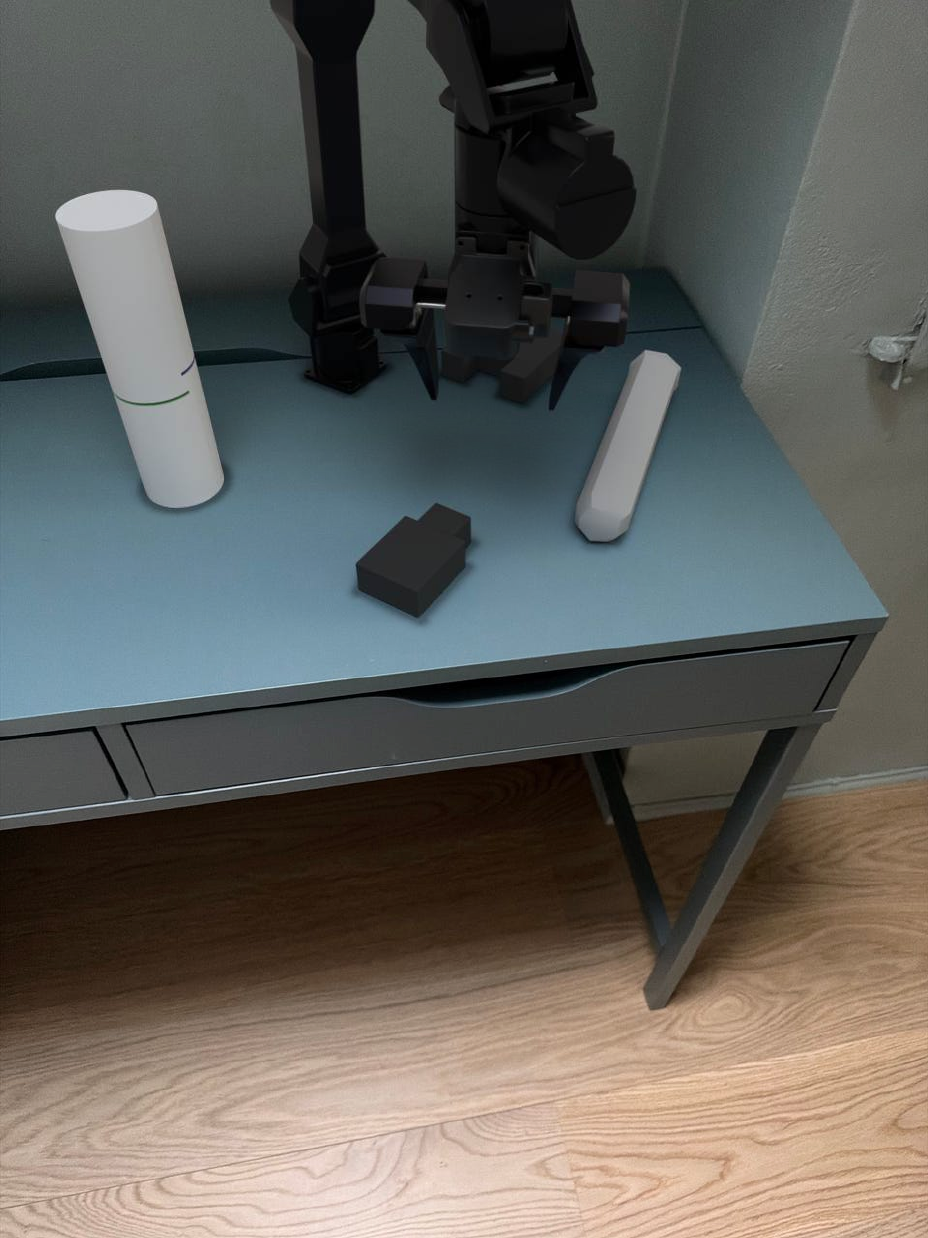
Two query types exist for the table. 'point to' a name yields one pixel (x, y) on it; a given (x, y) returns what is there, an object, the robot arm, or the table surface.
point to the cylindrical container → (143, 341)
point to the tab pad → (416, 559)
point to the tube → (627, 447)
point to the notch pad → (510, 367)
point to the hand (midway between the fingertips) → (492, 402)
